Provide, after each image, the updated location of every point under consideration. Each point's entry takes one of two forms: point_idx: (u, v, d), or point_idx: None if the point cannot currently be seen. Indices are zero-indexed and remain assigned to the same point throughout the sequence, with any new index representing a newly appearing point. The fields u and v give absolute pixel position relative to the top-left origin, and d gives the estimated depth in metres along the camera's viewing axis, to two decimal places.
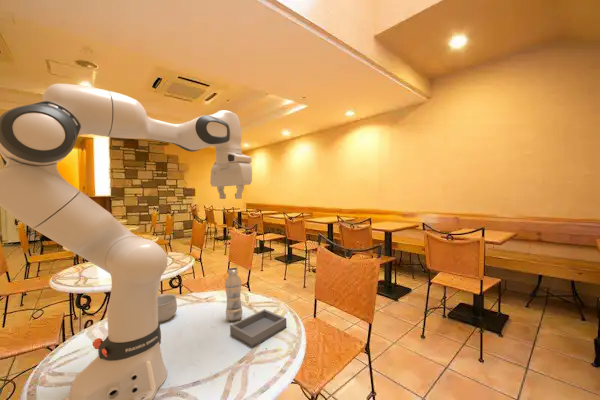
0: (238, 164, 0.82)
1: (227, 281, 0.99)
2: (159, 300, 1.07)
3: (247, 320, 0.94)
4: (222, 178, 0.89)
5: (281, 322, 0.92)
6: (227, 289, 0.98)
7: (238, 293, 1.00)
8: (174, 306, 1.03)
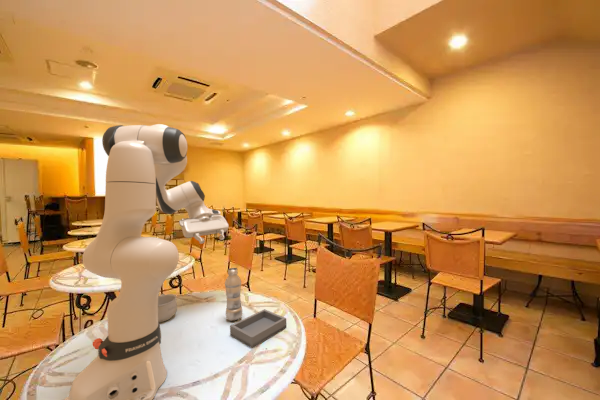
0: (221, 216, 1.20)
1: (227, 281, 0.99)
2: (159, 300, 1.07)
3: (247, 320, 0.94)
4: (203, 225, 1.11)
5: (281, 322, 0.92)
6: (227, 289, 0.98)
7: (238, 293, 1.00)
8: (174, 306, 1.03)
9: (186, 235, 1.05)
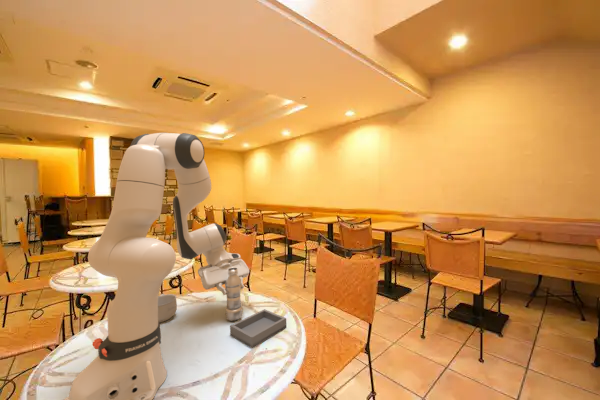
0: (242, 260, 1.11)
1: (227, 281, 0.99)
2: (159, 300, 1.07)
3: (247, 320, 0.94)
4: (224, 274, 1.02)
5: (281, 322, 0.92)
6: (227, 289, 0.98)
7: (238, 293, 1.00)
8: (174, 306, 1.03)
9: (206, 287, 0.96)
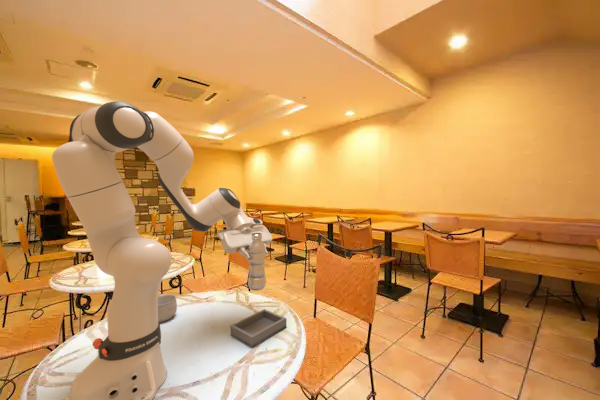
0: (264, 226, 1.01)
1: (251, 246, 0.88)
2: (159, 300, 1.07)
3: (247, 320, 0.94)
4: (246, 238, 0.91)
5: (281, 322, 0.92)
6: (251, 255, 0.88)
7: (262, 260, 0.90)
8: (174, 306, 1.03)
9: (228, 251, 0.85)
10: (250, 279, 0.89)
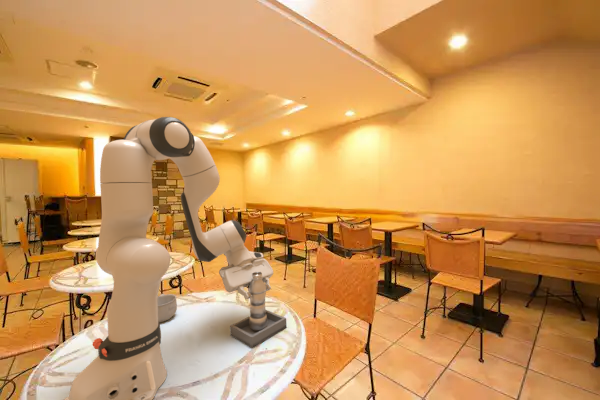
0: (265, 259, 1.01)
1: (251, 287, 0.89)
2: (159, 300, 1.07)
3: (247, 320, 0.94)
4: (247, 275, 0.92)
5: (281, 322, 0.92)
6: (251, 296, 0.89)
7: (263, 300, 0.90)
8: (174, 306, 1.03)
9: (229, 290, 0.86)
10: (251, 319, 0.89)
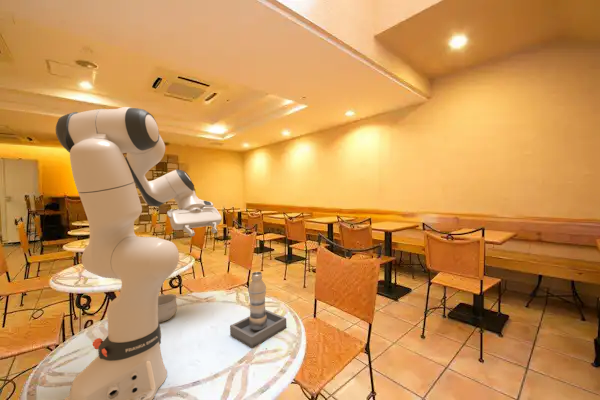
0: (214, 207, 1.11)
1: (251, 287, 0.89)
2: (159, 300, 1.07)
3: (247, 320, 0.94)
4: (194, 217, 1.02)
5: (281, 322, 0.92)
6: (251, 296, 0.89)
7: (263, 300, 0.90)
8: (174, 306, 1.03)
9: (174, 227, 0.96)
10: (251, 319, 0.89)
